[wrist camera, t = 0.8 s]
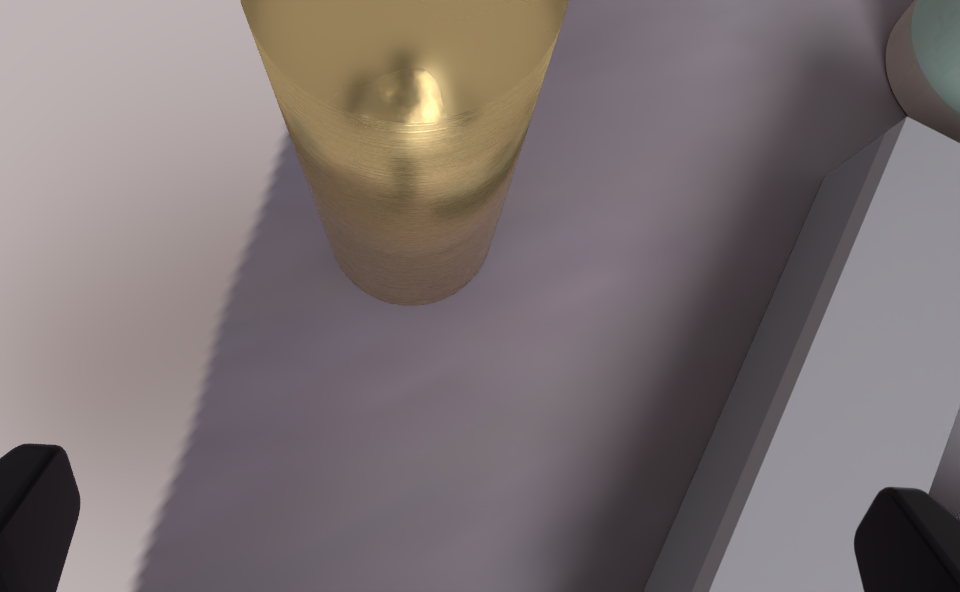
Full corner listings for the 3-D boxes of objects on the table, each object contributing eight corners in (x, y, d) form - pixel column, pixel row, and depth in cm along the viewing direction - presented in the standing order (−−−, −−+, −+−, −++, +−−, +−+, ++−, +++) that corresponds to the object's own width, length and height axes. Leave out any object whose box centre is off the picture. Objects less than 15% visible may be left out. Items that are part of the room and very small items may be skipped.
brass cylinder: (444, 334, 24) (476, 180, 11) (298, 257, 24) (170, 20, 12) (518, 196, 25) (623, -84, 13) (379, 123, 25) (342, -226, 13)
